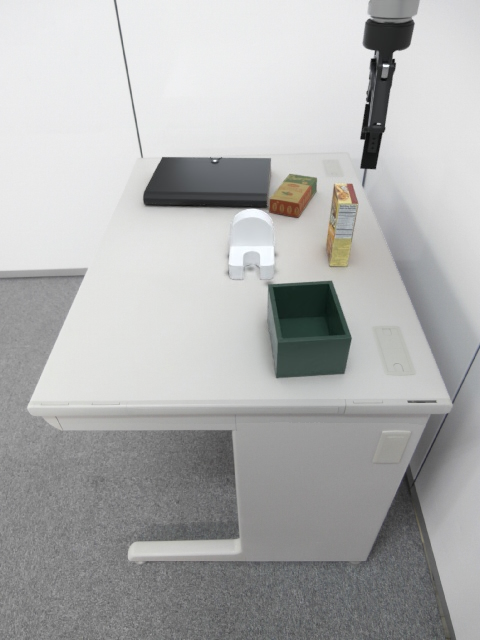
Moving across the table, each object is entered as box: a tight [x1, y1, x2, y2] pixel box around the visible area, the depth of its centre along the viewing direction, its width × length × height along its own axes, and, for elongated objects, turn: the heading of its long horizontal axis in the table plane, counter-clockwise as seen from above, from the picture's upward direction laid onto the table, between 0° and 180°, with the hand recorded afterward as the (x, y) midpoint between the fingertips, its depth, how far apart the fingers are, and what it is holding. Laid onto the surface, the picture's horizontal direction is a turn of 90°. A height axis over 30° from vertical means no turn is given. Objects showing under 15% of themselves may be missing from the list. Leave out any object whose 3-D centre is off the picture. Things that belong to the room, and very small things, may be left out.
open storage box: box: [266, 280, 353, 379], centre depth 76 cm, size 15×12×9 cm
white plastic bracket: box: [228, 208, 275, 281], centre depth 97 cm, size 10×18×11 cm, turn 178°
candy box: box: [325, 182, 359, 267], centre depth 94 cm, size 9×4×15 cm, turn 178°
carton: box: [268, 173, 318, 218], centre depth 117 cm, size 8×16×4 cm, turn 157°
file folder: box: [142, 156, 272, 208], centre depth 125 cm, size 33×4×24 cm
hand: (367, 153), depth 83 cm, fingers open, 13 cm apart
